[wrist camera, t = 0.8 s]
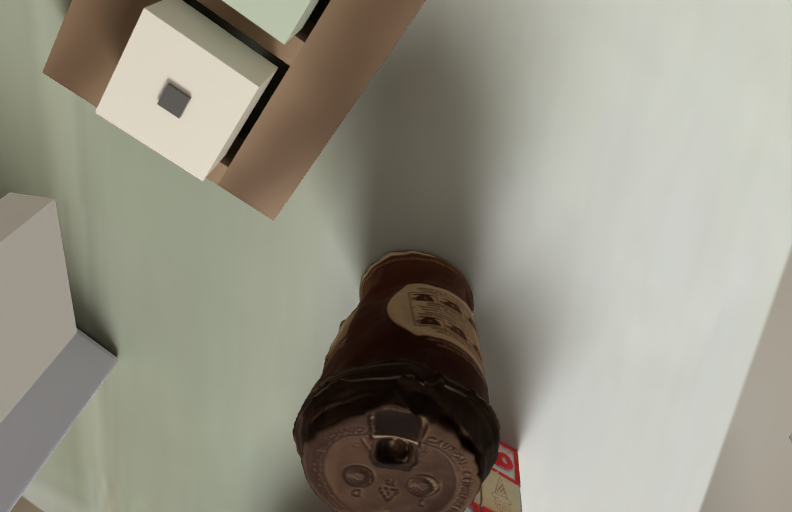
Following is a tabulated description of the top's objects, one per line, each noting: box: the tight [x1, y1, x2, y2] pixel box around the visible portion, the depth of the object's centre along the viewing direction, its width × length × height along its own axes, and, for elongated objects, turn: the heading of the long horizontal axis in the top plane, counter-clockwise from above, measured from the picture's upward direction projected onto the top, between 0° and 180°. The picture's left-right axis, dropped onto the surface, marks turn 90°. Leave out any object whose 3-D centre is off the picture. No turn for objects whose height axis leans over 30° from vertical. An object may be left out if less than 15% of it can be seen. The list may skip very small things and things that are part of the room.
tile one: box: [95, 0, 278, 181], centre depth 28 cm, size 5×5×3 cm
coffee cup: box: [293, 251, 500, 512], centre depth 32 cm, size 9×8×13 cm
